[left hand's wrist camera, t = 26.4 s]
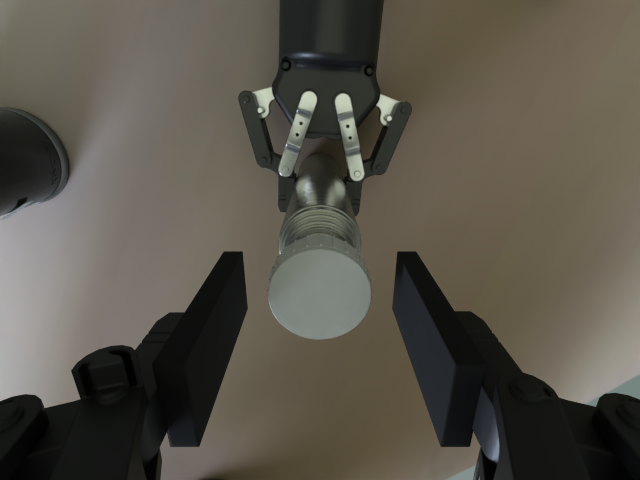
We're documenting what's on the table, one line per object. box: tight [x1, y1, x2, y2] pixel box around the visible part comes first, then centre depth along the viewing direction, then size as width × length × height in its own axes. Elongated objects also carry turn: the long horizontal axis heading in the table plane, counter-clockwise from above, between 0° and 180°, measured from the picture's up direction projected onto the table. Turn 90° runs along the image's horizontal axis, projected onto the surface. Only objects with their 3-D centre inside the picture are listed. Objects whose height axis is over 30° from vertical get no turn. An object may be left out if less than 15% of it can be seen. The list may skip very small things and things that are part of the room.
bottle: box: [279, 153, 361, 255], centre depth 25 cm, size 4×4×24 cm
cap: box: [268, 234, 372, 339], centre depth 14 cm, size 4×4×2 cm
